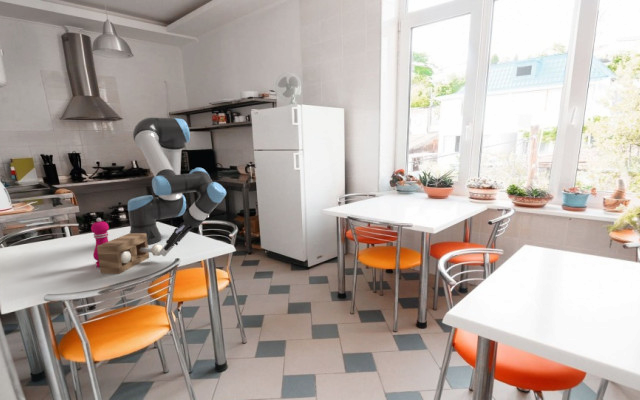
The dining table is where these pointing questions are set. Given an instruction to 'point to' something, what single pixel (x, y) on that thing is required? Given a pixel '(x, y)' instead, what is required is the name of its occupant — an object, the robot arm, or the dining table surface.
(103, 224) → the pepper mill
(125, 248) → the walnut block
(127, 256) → the outer knob
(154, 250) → the inner knob
